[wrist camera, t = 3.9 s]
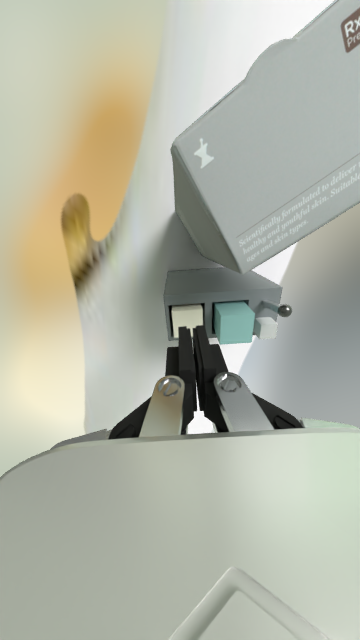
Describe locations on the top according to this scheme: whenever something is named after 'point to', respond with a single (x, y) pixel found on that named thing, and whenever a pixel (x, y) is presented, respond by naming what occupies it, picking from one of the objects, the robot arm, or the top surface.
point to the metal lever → (277, 308)
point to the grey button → (265, 328)
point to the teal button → (233, 322)
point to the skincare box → (276, 147)
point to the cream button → (186, 316)
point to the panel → (218, 293)
